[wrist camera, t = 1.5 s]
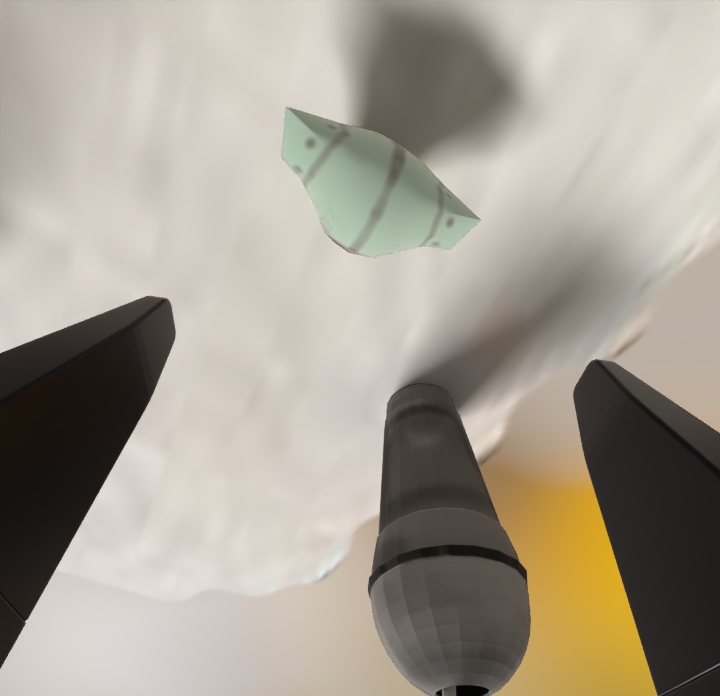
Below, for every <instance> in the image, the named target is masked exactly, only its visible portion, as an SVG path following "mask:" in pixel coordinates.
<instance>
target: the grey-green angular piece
mask: <svg viewBox="0 0 720 696" xmlns="http://www.w3.org/2000/svg"><path fill="white" fill-rule="evenodd" d="M281 158H282V159H283V160H284V162H285V163H286V164H287V165H288V166H289V167H290V168H291V170H292V171H293V172H294V173H295V174H296V175H297V176H298V177H299V179H300V180H301V181H302V182H303V185H304V187H305V189H306V191H307V193H308V195H309V197H310V200H311V202H312V204H313V206H314V209H315V211H316V213H317V215H318V218H319V220H320V222H321V225H322V227H323V229H324V232H325V233H326V234H327V235H328V236H329V237H330V238H331V239H332V240H333V241H334V242H335V243H336V244H337V245H339V246H340V247H342V248H343V249H345V250H346V251H347V252H349V253H353V254H358V255H362V256H366V257H370V258H376V257H380V256H384V255H388V254H392V253H395V252H399V251H404V250H409V249H413V248H418V247H422V246H424V247H432V248H440V249H448V250H450V249H451V248H452V247H454V246H455V245H456V244H457V243H458V242H459V241H460V240H461V239H462V238H463V237H464V236H465V235H466V234H467V233H468V232H469V231H470V230H471V229H472V228H473V227H474V226H475V225H476V224H477V223H478V222H480V221H481V220H480V219H479V218H478V217H477V216H476V215H475V214H474V213H473V212H472V211H471V210H470V209H469V208H468V207H467V206H466V205H464V204H463V203H462V202H461V201H460V200H459V199H458V198H457V197H456V196H455V195H454V194H453V193H452V192H451V191H450V190H449V189H448V188H447V187H445V186H444V185H443V184H442V182H441V181H440V180H439V179H438V178H437V177H436V176H435V175H434V174H433V173H432V172H431V170H430V169H429V168H428V167H427V166H426V165H425V164H424V163H423V162H422V161H421V160H420V159H418V158H417V157H416V156H414V155H413V154H412V153H410V152H409V151H408V150H406V149H405V148H404V147H402V146H401V145H400V144H398V143H397V142H395V141H393V140H391V139H389V138H387V137H385V136H383V135H381V134H380V133H378V132H375V131H371V130H367V129H363V128H358V127H354V126H350V125H346V124H341V123H338V122H335V121H331V120H328V119H325V118H322V117H318V116H315V115H312V114H309V113H305V112H302V111H299V110H296V109H292V108H289V107H286V113H285V124H284V134H283V145H282V156H281Z"/></svg>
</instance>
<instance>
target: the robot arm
mask: <svg viewBox="0 0 720 696" xmlns="http://www.w3.org/2000/svg"><path fill="white" fill-rule="evenodd" d="M175 335H176V331H175V325H174V319H173V313H172V307H171V303H170V301H169V300H168V299H167V298H161V297H154V296H146V297H143V298H141V299H138V300H136V301H133V302H130V303H128V304H125V305H123V306H120V307H118V308H115V309H112V310H110V311H107V312H105V313H102V314H100V315H97V316H95V317H92V318H89V319H87V320H84V321H82V322H79V323H77V324H74V325H71V326H69V327H66V328H64V329H61V330H59V331H56V332H54V333H51V334H48V335H46V336H43V337H41V338H38V339H36V340H33V341H30V342H28V343H25V344H23V345H20V346H18V347H15V348H13V349H10V350H7V351H5V352H2V353H0V668H1V667H2V665H3V663H4V661H5V660H6V658H7V656H8V654H9V652H10V650H11V649H12V647H13V645H14V643H15V642H16V640H17V638H18V636H19V635H20V633H21V631H22V629H23V627H24V626H25V624H26V623H25V621H26V620H27V619H28V618H29V616H30V614H31V612H32V611H33V609H34V607H35V605H36V604H37V602H38V600H39V598H40V596H41V595H42V593H43V591H44V589H45V587H46V585H47V584H48V582H49V580H50V579H51V577H52V575H53V573H54V571H55V570H56V568H57V566H58V564H59V562H60V561H61V559H62V557H63V555H64V554H65V552H66V550H67V548H68V546H69V545H70V543H71V541H72V539H73V537H74V536H75V534H76V532H77V530H78V529H79V527H80V525H81V523H82V521H83V520H84V518H85V516H86V514H87V512H88V511H89V509H90V507H91V505H92V504H93V502H94V500H95V498H96V496H97V495H98V493H99V491H100V489H101V487H102V486H103V484H104V482H105V480H106V479H107V477H108V475H109V473H110V471H111V470H112V468H113V466H114V464H115V462H116V461H117V459H118V457H119V455H120V454H121V452H122V450H123V448H124V446H125V445H126V443H127V441H128V439H129V437H130V436H131V434H132V432H133V430H134V429H135V427H136V425H137V423H138V421H139V420H140V418H141V416H142V414H143V412H144V411H145V409H146V407H147V405H148V403H149V401H150V399H151V397H152V395H153V392H154V390H155V388H156V385H157V383H158V380H159V378H160V375H161V373H162V371H163V368H164V366H165V363H166V361H167V358H168V356H169V353H170V351H171V348H172V346H173V343H174V341H175ZM573 398H574V404H575V409H576V415H577V420H578V425H579V431H580V436H581V442H582V447H583V452H584V456H585V461H586V464H587V468H588V471H589V474H590V478H591V481H592V484H593V487H594V490H595V494H596V497H597V500H598V504H599V507H600V510H601V513H602V517H603V520H604V523H605V526H606V530H607V533H608V536H609V539H610V543H611V546H612V549H613V552H614V556H615V559H616V562H617V565H618V569H619V572H620V575H621V578H622V582H623V585H624V588H625V591H626V594H627V598H628V601H629V604H630V608H631V611H632V614H633V617H634V620H635V624H636V627H637V630H638V634H639V637H640V640H641V643H642V646H643V650H644V653H645V656H646V660H647V663H648V666H649V669H650V672H651V676H652V679H653V682H654V686H655V689H656V692H657V695H658V696H720V433H719V432H717V431H716V430H714V429H713V428H711V427H710V426H708V425H707V424H705V423H704V422H702V421H701V420H699V419H698V418H697V417H695V416H693V415H692V414H690V413H689V412H688V411H686V410H685V409H683V408H682V407H680V406H679V405H677V404H675V403H674V402H673V401H671V400H670V399H668V398H667V397H665V396H664V395H662V394H661V393H659V392H658V391H656V390H655V389H653V388H652V387H650V386H649V385H647V384H646V383H645V382H643V381H642V380H640V379H639V378H637V377H635V376H634V375H633V374H631V373H630V372H628V371H627V370H625V369H624V368H622V367H621V366H619V365H618V364H616V363H615V362H612V361H605V360H598V359H595V360H593V361H591V362H590V363H589V364H588V366H587V367H586V369H585V371H584V372H583V374H582V376H581V378H580V379H579V381H578V383H577V384H576V386H575V389H574V393H573Z"/></svg>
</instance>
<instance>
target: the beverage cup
mask: <svg viewBox="0 0 720 696" xmlns="http://www.w3.org/2000/svg"><path fill="white" fill-rule="evenodd" d="M386 412H387V416H386V420H385V428H384V446H383V464H382V483H381V501H380V519H379V536H378V538H377V542H376V548H375V554H374V560H373V567H372V575H371V576H370V577H369V584H368V593H369V597H370V599H371V601H372V613H373V617H374V622H375V626H376V629H377V632H378V635H379V637H380V640H381V642H382V644H383V646H384V648H385V650H386V652H387V654H388V655H389V657H390V659H391V660H392V662H393V663H394V665H395V666H396V667H397V669H398V670H399V672H400V673H401V674H402V675H403V676H404V677H405V678H406V679H407V680H408V681H409V682H410V683H411V684H412V685H414V686H415V687H417V688H418V689H420V690H421V691H423V692H424V693H426V694H428V695H429V696H490V695H492V694H494V693H495V692H497V691H499V690H500V689H501V688H502V687H503V686H504V685H505V684H506V683H507V682H508V681H509V680H510V679H511V678H512V676H513V675H514V673H515V672H516V670H517V669H518V667H519V666H520V664H521V662H522V660H523V657H524V655H525V652H526V650H527V645H528V641H529V637H530V623H531V618H530V605H529V594H528V587H527V571H526V569H525V568H524V567H523V566H522V565H521V563H520V562H519V559H518V556H517V553H516V551H515V549H514V547H513V545H512V543H511V541H510V539H509V537H508V535H507V533H506V531H505V530H504V529H503V527H502V526H501V525H500V522H499V520H498V517H497V514H496V512H495V509H494V506H493V504H492V501H491V498H490V496H489V493H488V490H487V487H486V485H485V482H484V479H483V477H482V474H481V472H480V469H479V466H478V463H477V461H476V458H475V455H474V453H473V450H472V447H471V445H470V442H469V439H468V437H467V434H466V431H465V429H464V426H463V423H462V421H461V418H460V415H459V414H458V412H457V410H456V408H455V406H454V404H453V400H452V398H451V397H450V395H449V394H448V392H446V391H445V390H443V389H442V388H440V387H437V386H434V385H431V384H415V385H410V386H407V387H405V388H403V389H400V390H399V391H397V392H396V393H395V394H394V395H393V396H392V397H391V398H390V400H389V402H388V403H387V411H386Z"/></svg>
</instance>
